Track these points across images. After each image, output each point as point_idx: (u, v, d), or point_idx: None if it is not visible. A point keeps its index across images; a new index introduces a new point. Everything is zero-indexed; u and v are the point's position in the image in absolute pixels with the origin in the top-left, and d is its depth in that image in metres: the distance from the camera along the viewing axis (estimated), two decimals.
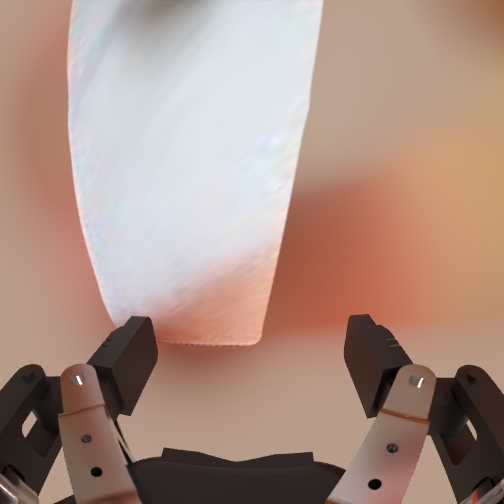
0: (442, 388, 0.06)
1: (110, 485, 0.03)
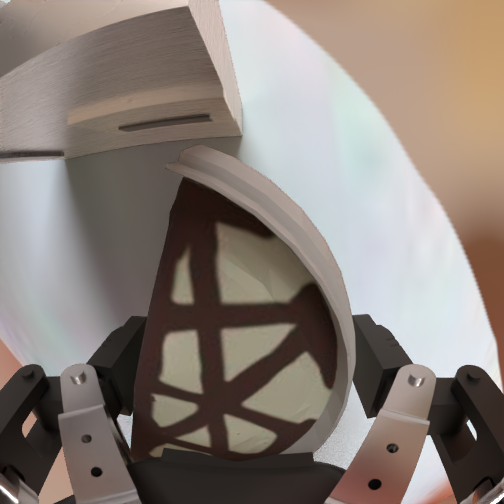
0: (442, 388, 0.06)
1: (110, 485, 0.03)
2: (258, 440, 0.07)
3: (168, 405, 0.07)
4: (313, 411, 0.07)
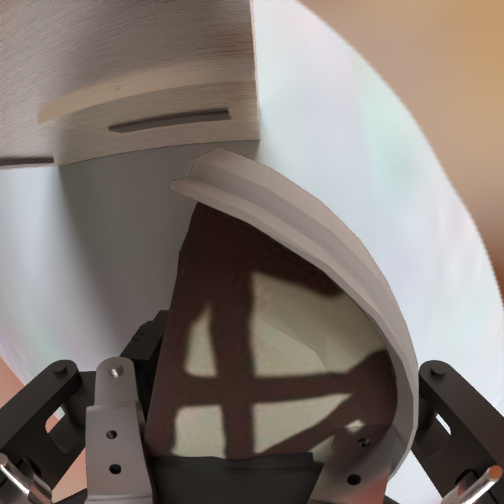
0: None
1: (127, 484, 0.03)
2: None
3: None
4: None
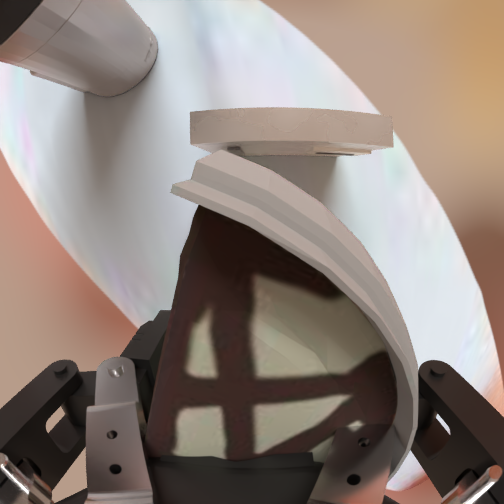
0: None
1: (127, 485, 0.03)
2: None
3: None
4: None
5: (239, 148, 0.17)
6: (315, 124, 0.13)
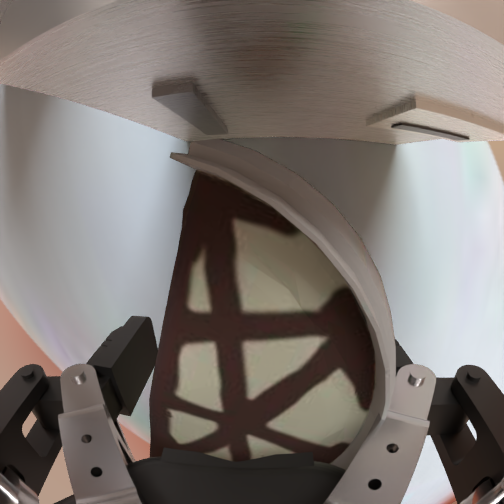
0: (442, 388, 0.06)
1: (110, 485, 0.03)
2: None
3: (185, 422, 0.06)
4: (346, 434, 0.06)
5: (190, 87, 0.04)
6: None
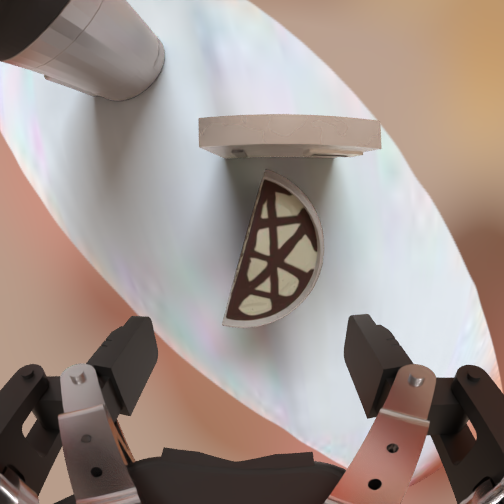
0: (442, 388, 0.06)
1: (110, 485, 0.03)
2: (291, 284, 0.21)
3: (255, 264, 0.20)
4: (312, 264, 0.20)
5: (242, 150, 0.18)
6: (310, 129, 0.15)
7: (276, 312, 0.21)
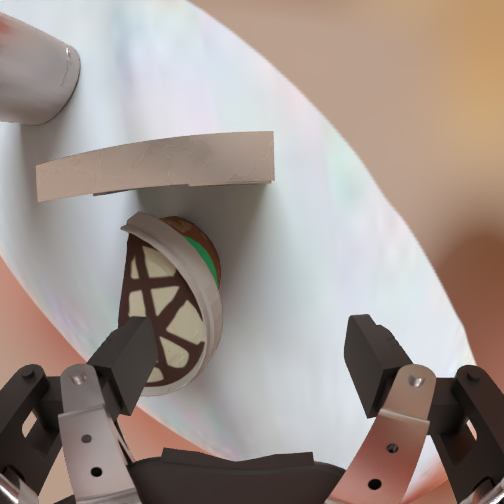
0: (442, 388, 0.06)
1: (110, 485, 0.03)
2: (180, 356, 0.15)
3: None
4: (201, 336, 0.15)
5: (104, 192, 0.13)
6: (152, 162, 0.10)
7: (169, 382, 0.16)
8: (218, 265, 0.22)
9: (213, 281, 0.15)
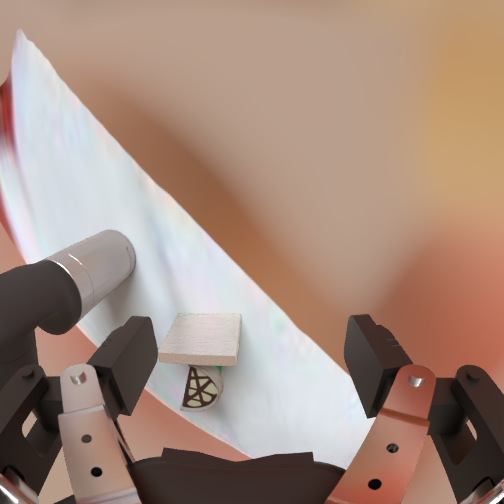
0: (442, 388, 0.06)
1: (110, 485, 0.03)
2: (208, 398, 0.42)
3: (191, 391, 0.41)
4: (216, 392, 0.41)
5: None
6: (202, 360, 0.36)
7: (203, 406, 0.42)
8: None
9: (219, 375, 0.41)
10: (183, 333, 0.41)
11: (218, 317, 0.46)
